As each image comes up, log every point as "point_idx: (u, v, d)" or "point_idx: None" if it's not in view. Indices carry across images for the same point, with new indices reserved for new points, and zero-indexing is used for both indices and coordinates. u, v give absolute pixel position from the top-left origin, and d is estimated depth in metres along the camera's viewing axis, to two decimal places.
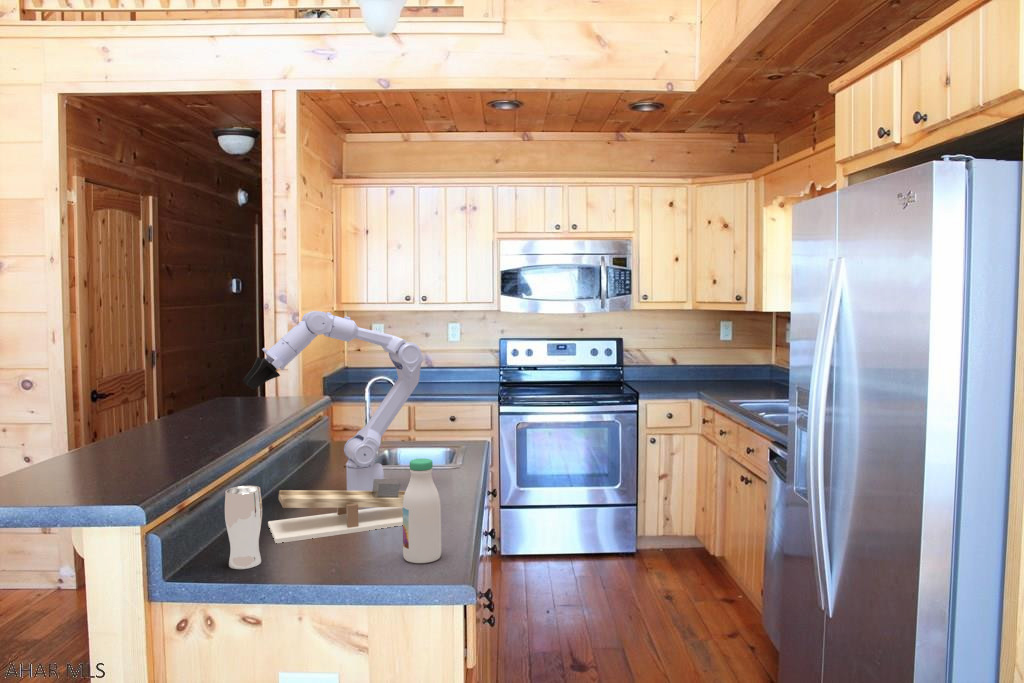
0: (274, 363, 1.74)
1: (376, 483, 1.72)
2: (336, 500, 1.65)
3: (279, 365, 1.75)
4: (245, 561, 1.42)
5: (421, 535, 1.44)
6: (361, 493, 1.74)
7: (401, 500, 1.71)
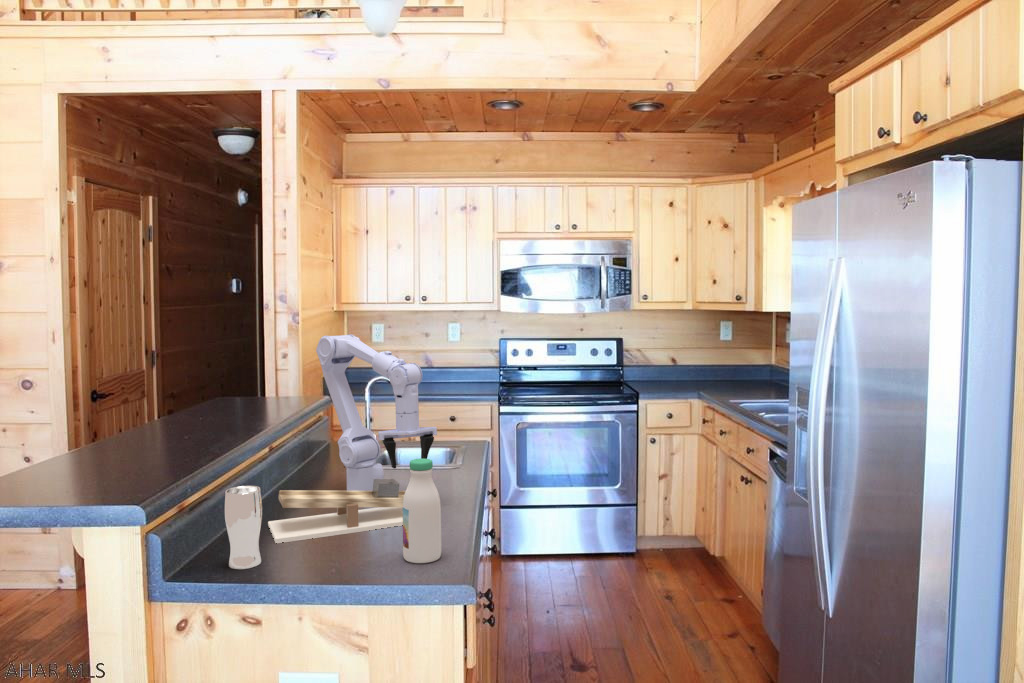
0: None
1: (376, 483, 1.72)
2: (336, 500, 1.65)
3: None
4: (245, 561, 1.42)
5: (421, 535, 1.44)
6: (361, 493, 1.74)
7: (401, 500, 1.71)
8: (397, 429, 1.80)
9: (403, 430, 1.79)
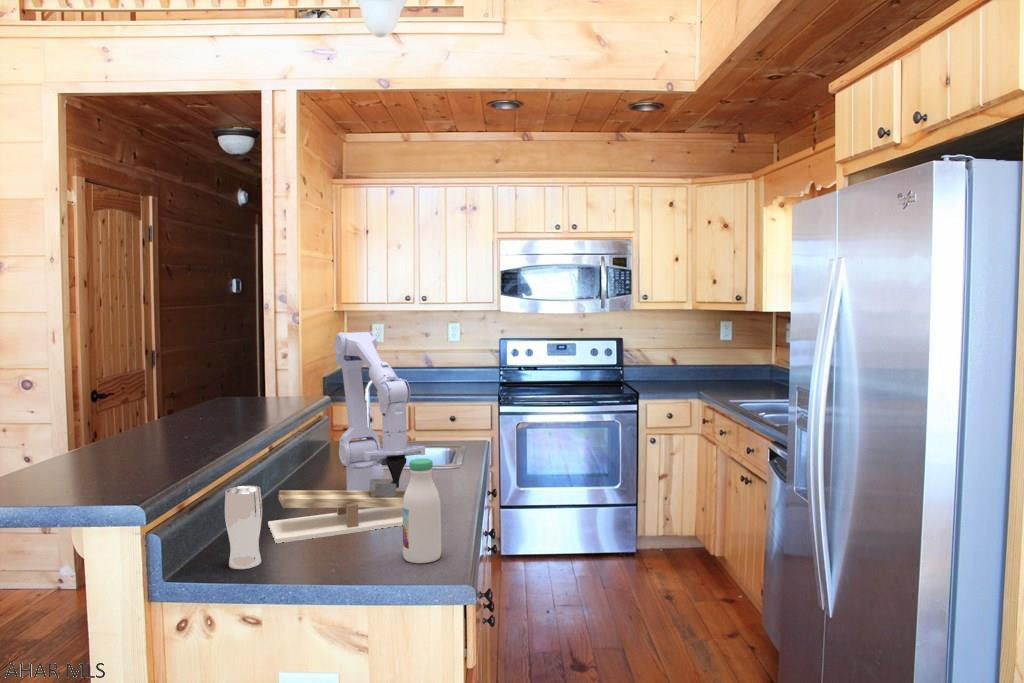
0: None
1: (373, 483, 1.72)
2: (336, 500, 1.65)
3: None
4: (245, 561, 1.42)
5: (421, 535, 1.44)
6: (361, 493, 1.74)
7: (401, 500, 1.71)
8: (384, 449, 1.72)
9: (390, 450, 1.71)
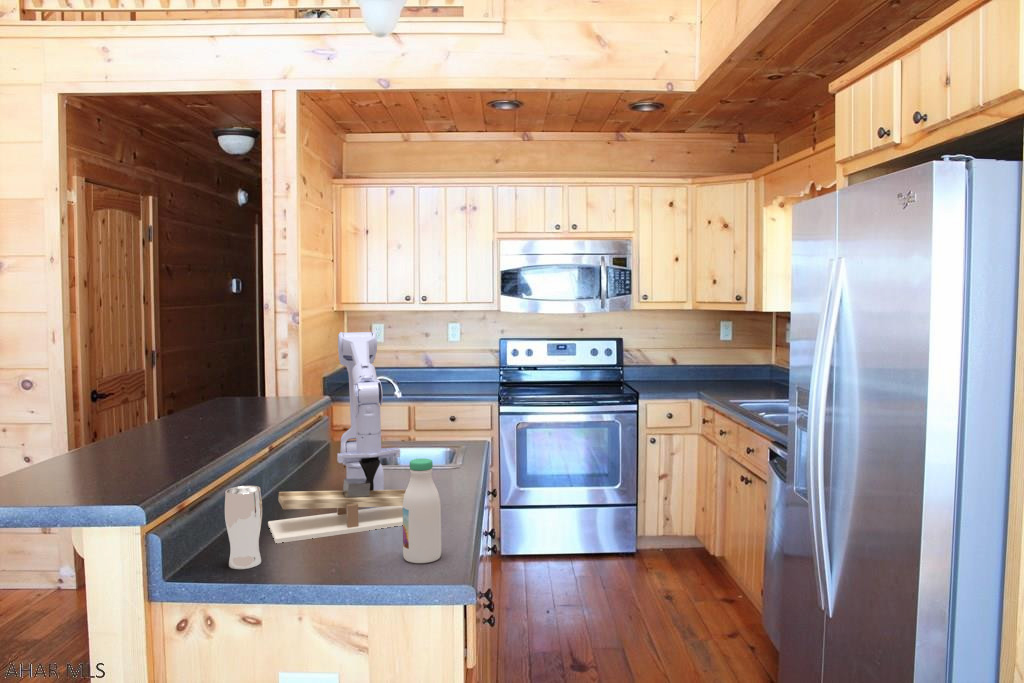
0: None
1: (346, 483, 1.69)
2: (336, 500, 1.65)
3: None
4: (245, 561, 1.42)
5: (421, 535, 1.44)
6: None
7: (401, 499, 1.71)
8: (357, 451, 1.70)
9: (364, 452, 1.69)
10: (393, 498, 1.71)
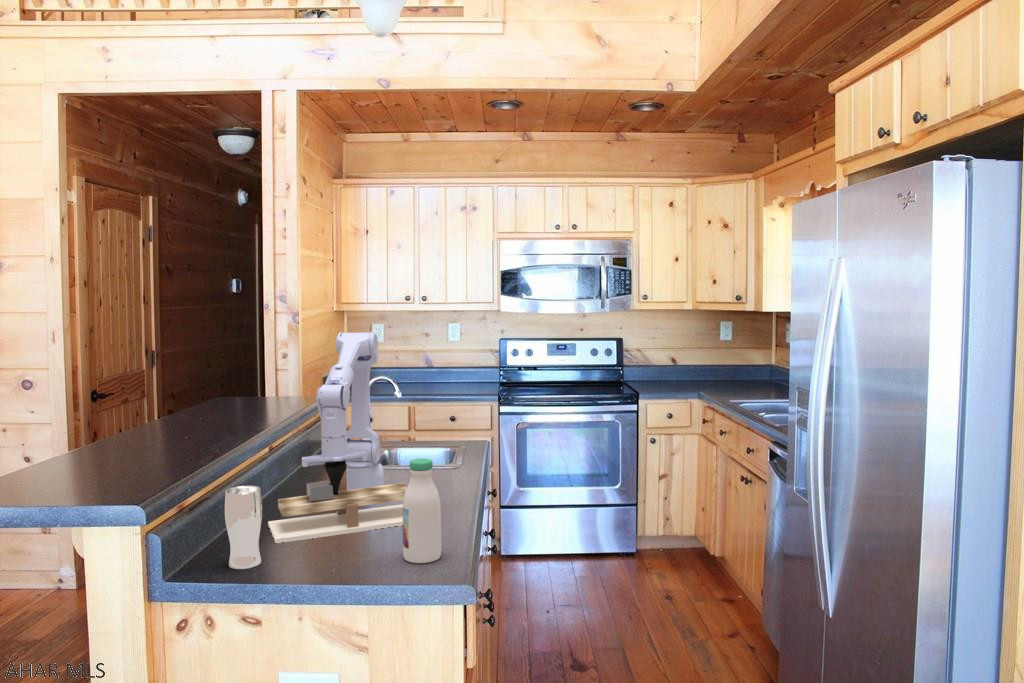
0: None
1: (308, 488, 1.66)
2: (335, 502, 1.65)
3: None
4: (245, 561, 1.42)
5: (421, 535, 1.44)
6: (360, 491, 1.74)
7: (400, 493, 1.71)
8: (322, 455, 1.66)
9: (329, 456, 1.65)
10: (392, 493, 1.70)
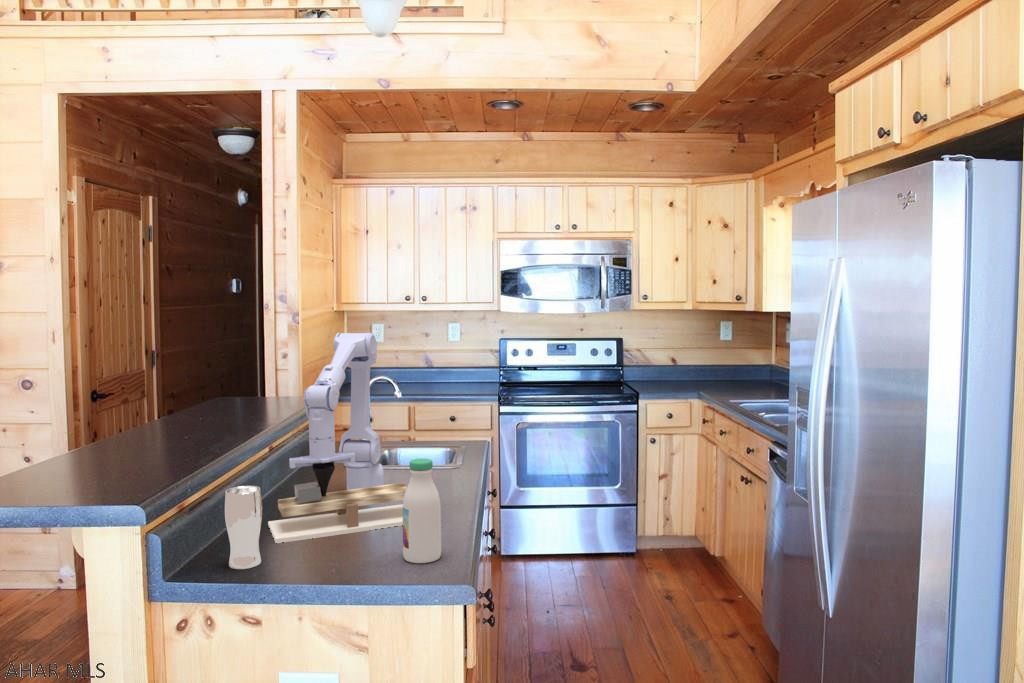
0: None
1: (296, 489, 1.65)
2: (335, 502, 1.65)
3: None
4: (245, 561, 1.42)
5: (421, 535, 1.44)
6: (360, 491, 1.74)
7: (400, 493, 1.71)
8: (310, 456, 1.65)
9: (317, 457, 1.64)
10: (392, 493, 1.70)
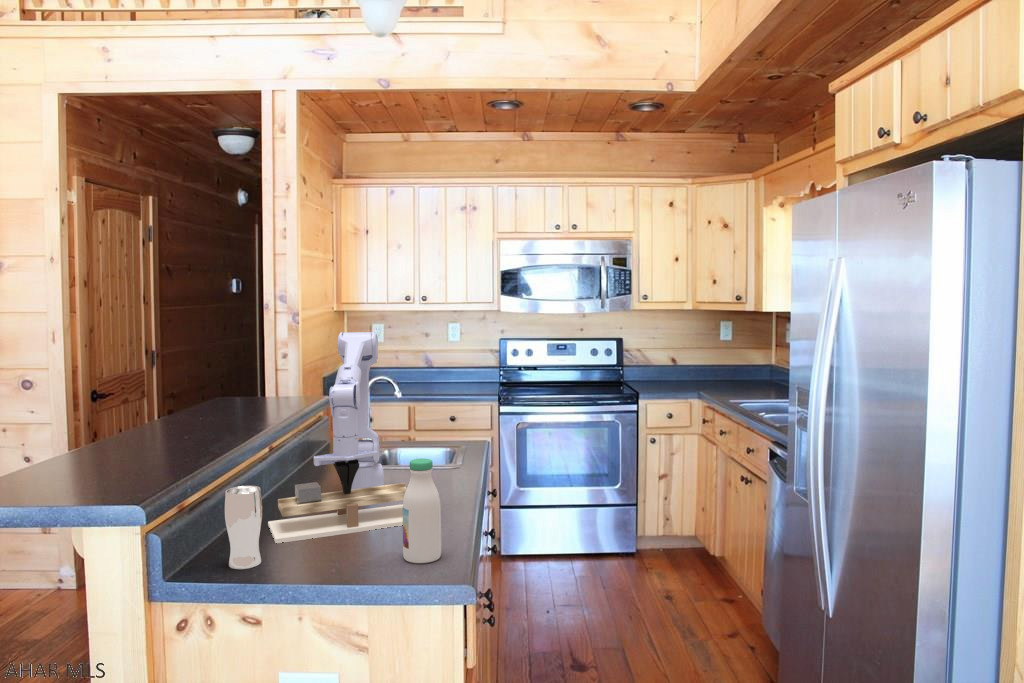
0: None
1: (296, 489, 1.65)
2: (335, 502, 1.65)
3: None
4: (245, 561, 1.42)
5: (421, 535, 1.44)
6: (360, 491, 1.74)
7: (400, 493, 1.71)
8: (334, 454, 1.68)
9: (340, 455, 1.67)
10: (392, 493, 1.70)
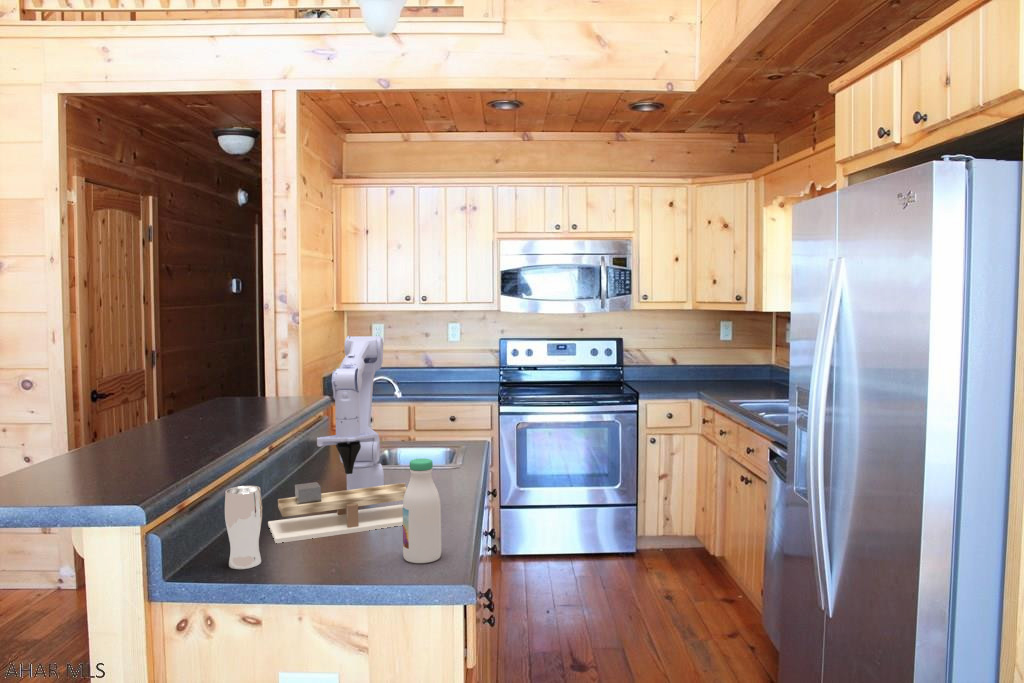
0: None
1: (296, 489, 1.65)
2: (335, 502, 1.65)
3: None
4: (245, 561, 1.42)
5: (421, 535, 1.44)
6: (360, 491, 1.74)
7: (400, 493, 1.71)
8: (337, 435, 1.75)
9: (343, 436, 1.73)
10: (392, 493, 1.70)
